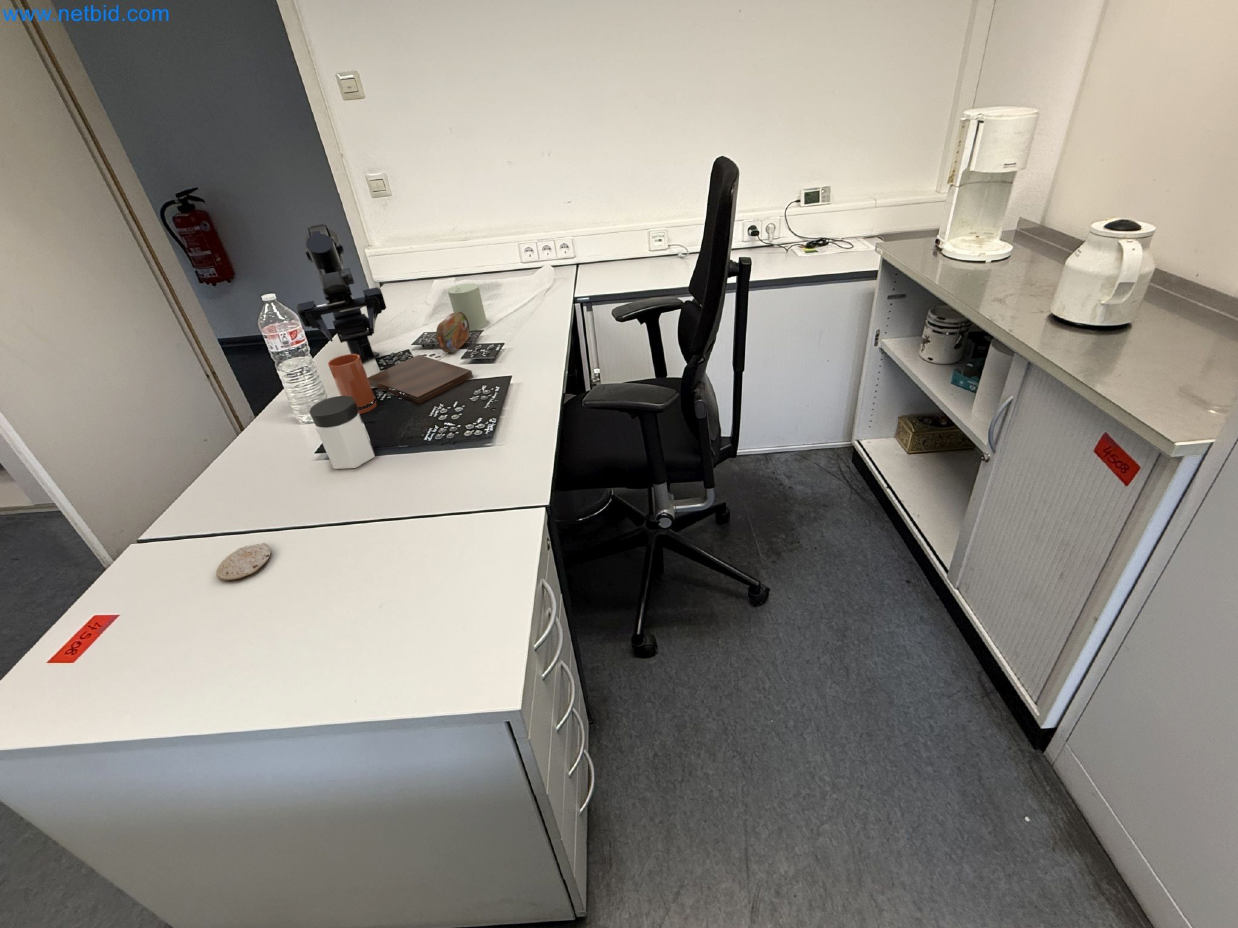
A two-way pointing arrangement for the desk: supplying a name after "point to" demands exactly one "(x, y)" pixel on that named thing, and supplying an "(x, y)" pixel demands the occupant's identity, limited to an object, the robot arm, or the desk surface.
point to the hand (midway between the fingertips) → (352, 335)
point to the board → (420, 378)
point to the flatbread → (243, 561)
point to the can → (468, 304)
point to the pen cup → (352, 380)
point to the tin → (453, 332)
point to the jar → (342, 432)
